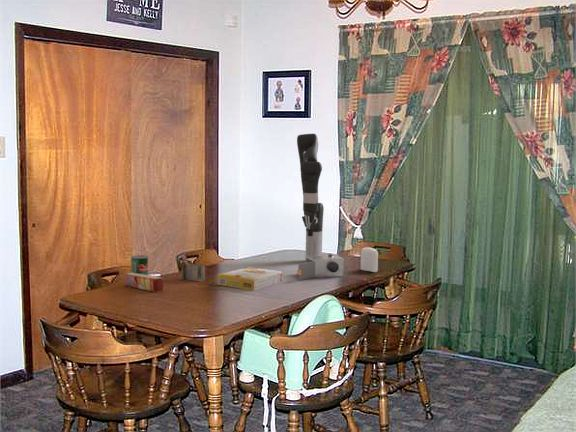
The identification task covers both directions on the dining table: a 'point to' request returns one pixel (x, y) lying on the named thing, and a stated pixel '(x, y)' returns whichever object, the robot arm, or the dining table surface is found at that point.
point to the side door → (306, 270)
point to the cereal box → (249, 278)
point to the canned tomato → (139, 264)
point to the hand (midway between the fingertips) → (310, 236)
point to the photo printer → (369, 259)
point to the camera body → (327, 265)
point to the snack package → (144, 282)
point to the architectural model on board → (193, 272)
